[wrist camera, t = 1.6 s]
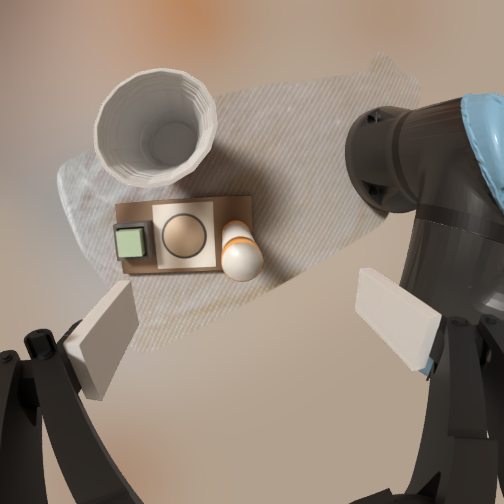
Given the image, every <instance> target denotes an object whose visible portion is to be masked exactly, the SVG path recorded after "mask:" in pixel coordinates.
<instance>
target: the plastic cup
mask: <svg viewBox="0 0 504 504" xmlns="http://www.w3.org/2000/svg"><path fill="white" fill-rule="evenodd" d="M217 127H218V123H217V114H216V105H215V102H214V100H213V98H212V97H211V95H210V94H209V92H208V90H207V89H206V87H205V85H204V84H203V83H202V82H200V81H198V80H197V79H196V78H194V77H192V76H191V75H189V74H188V73H186V72H185V71H179V70H174V69H167V68H157V69H152V70H147V71H142V72H138V73H136V74H134V75H133V76H131V77H129V78H128V79H126V80H125V81H123V82H121V83H120V84H118V85H117V86H116V87H115V88H114V89H113V91H112V92H111V93H110V94H109V95H108V97H107V98H106V99H105V100H104V102H103V103H102V104H101V107H100V110H99V112H98V115H97V118H96V122H95V125H94V143H95V144H94V145H95V151H96V153H97V155H98V157H99V159H100V161H101V163H102V165H103V167H104V169H105V170H106V171H107V172H108V173H110V174H111V175H112V176H114V177H115V178H116V179H118V180H119V181H120V182H122V183H123V184H127V185H132V186H136V187H141V188H145V189H148V188H153V187H159V186H164V185H170V184H173V183H174V182H176V181H178V180H179V179H181V178H183V177H184V176H186V175H188V174H189V173H191V172H193V171H194V170H195V169H196V168H197V166H198V165H199V164H200V163H201V161H202V160H203V159H204V157H205V156H206V155H207V154H208V152H209V151H210V150H211V147H212V143H213V140H214V137H215V134H216V130H217Z"/></svg>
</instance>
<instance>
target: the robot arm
mask: <svg viewBox="0 0 504 504" xmlns="http://www.w3.org/2000/svg"><path fill="white" fill-rule="evenodd" d="M345 160H346V167H347V171H348V174H349V177H350V179H351V182H352V184H353V186H354V187H355V189H356V190H357V192H358V193H359V195H360V196H361V197H362V198H363V199H364V200H365V201H366V202H367V203H369V204H370V205H372V206H373V207H375V208H377V209H380V210H383V211H387V212H391V213H406V212H410V211H413V210H416V215H415V220H414V225H413V230H412V236H411V241H410V245H409V249H408V253H407V258H406V262H405V266H404V270H403V274H402V277H401V281H400V285H399V286H398V285H397V284H395V283H394V282H392V281H391V280H389V279H388V278H386V277H385V276H383V275H381V274H380V273H378V272H377V271H375V270H374V269H372V268H360V272H359V282H358V290H357V298H356V306H355V311H356V312H357V313H358V314H359V315H360V316H361V317H362V318H363V319H364V320H365V321H366V322H367V323H368V324H369V325H370V327H371V328H372V329H373V330H374V331H375V332H376V333H377V334H378V335H379V336H380V337H381V338H382V339H383V340H384V341H385V342H386V343H387V344H388V346H390V348H391V349H392V350H393V351H394V352H395V353H396V354H397V355H398V356H399V357H400V358H401V359H402V361H403V362H404V363H405V364H406V365H407V366H408V367H409V368H410V369H411V370H412V371H413V372H414V371H420V372H421V373H423V374H424V375H426V376H428V377H427V379H426V380H427V381H428V380H429V378H430V386H429V395H428V403H427V410H426V416H425V422H424V428H423V433H422V438H421V443H420V448H419V452H418V456H417V460H416V464H415V468H414V472H413V475H412V478H411V481H410V484H409V486H408V488H407V490H406V491H405V493H404V494H397V495H396V494H395V495H392V493H391V491H390V489H389V488H388V489H385V490H383V491H381V492H378V493H375V494H373V495H370V496H367V497H364V498H361V499H359V500H356V501H353V502H351V503H350V504H495V498H496V489H497V475H498V479H499V484H500V488H501V491H502V494H503V497H504V96H502V95H500V94H496V93H487V94H467V95H465V96H463V97H461V98H456V99H452V100H448V101H444V102H440V103H437V104H433V105H429V106H426V107H422V108H419V109H416V110H409V109H404V108H399V107H393V106H383V107H378V108H375V109H372V110H370V111H368V112H366V113H364V114H362V115H361V116H360V117H359V118H358V119H357V120H356V121H355V122H354V123H353V125H352V127H351V128H350V130H349V133H348V136H347V140H346V145H345ZM426 220H428V221H426ZM430 221H432V222H430ZM434 222H435V223H434ZM438 223H439V224H438ZM441 224H443V225H441ZM445 225H446V226H445ZM449 226H450V227H449ZM452 227H453V228H452ZM456 228H457V229H456ZM459 229H460V230H459ZM462 230H463V231H462ZM466 231H467V232H466ZM469 232H470V233H469ZM472 233H473V234H472ZM138 325H139V321H138V317H137V312H136V307H135V302H134V296H133V291H132V285H131V281H118V282H117V283H116V284H115V285H114V286H113V287H112V288H111V289H110V291H109V292H108V293H107V294H106V295H105V296H104V297H103V298H102V299H101V300H100V301H99V302H98V304H97V305H96V306H95V307H94V308H93V309H92V310H91V311H90V312H89V314H88V315H87V316H86V317H85V318H84V319H83V320H80V321H78V322H76V323H75V324H73V325H72V326H71V327H70V329H69V330H68V331H67V332H66V333H65V334H64V336H63V337H62V338H61V339H60V340H59V341H58V342H57V344H56V342H55V340H54V337H53V334H52V332H51V331H50V330H48V329H38V330H35V331H32V332H31V333H29V334H28V335H27V336H26V337H25V338H24V343H25V346H26V348H27V350H28V353H29V355H30V358H31V360H20V358H19V355H18V353H17V352H16V351H14V350H8V351H3V352H1V353H0V504H48V500H47V495H46V487H45V479H44V469H43V454H42V415H43V419H44V422H45V426H46V429H47V433H48V436H49V439H50V442H51V445H52V448H53V451H54V453H55V456H56V459H57V461H58V464H59V466H60V469H61V471H62V474H63V476H64V478H65V481H66V483H67V485H68V487H69V489H70V491H71V493H72V496H73V498H74V499H75V502H76V503H77V504H144V503H143V502H142V500H141V499H140V498H139V497H138V495H137V494H136V493H135V492H134V490H133V489H132V487H131V486H130V485H129V483H128V482H127V481H126V479H125V478H124V476H123V475H122V473H121V472H120V471H119V469H118V467H117V466H116V464H115V463H114V461H113V459H112V458H111V456H110V455H109V453H108V451H107V450H106V448H105V446H104V445H103V443H102V441H101V439H100V437H99V436H98V434H97V432H96V430H95V428H94V426H93V425H92V422H91V420H90V418H89V416H88V415H87V412H86V410H85V408H84V407H83V404H82V402H81V400H80V398H79V396H78V393H79V392H80V390H81V388H82V391H83V393H84V395H85V397H86V399H92V400H98V401H102V399H103V397H104V395H105V393H106V391H107V388H108V386H109V384H110V382H111V380H112V377H113V376H114V373H115V371H116V369H117V367H118V365H119V363H120V361H121V359H122V357H123V355H124V353H125V350H126V349H127V347H128V345H129V343H130V341H131V339H132V337H133V335H134V333H135V331H136V329H137V327H138ZM487 431H488V435H489V438H487Z"/></svg>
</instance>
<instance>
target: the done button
mask: <svg viewBox="0 0 504 504" xmlns="http://www.w3.org/2000/svg"><path fill="white" fill-rule="evenodd" d="M116 238H117V247H118V254H119V257H137V256H143V255H144V254H145V253H146V243H145V232H144V228H130V229H121V230H119V231H117V232H116Z"/></svg>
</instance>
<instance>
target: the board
mask: <svg viewBox="0 0 504 504" xmlns="http://www.w3.org/2000/svg"><path fill="white" fill-rule="evenodd" d="M115 206H116V218H117V224H115V225H113V229H114V238H115V246H116V254H117V261H122V268H123V274H128V273H158V272H185V271H209V270H223V269H222V264H221V256H222V231H223V228H224V226H225V225H226V224H227V223H228V222H230V221H233V220H239V221H242V222H244V223H245V224H246V225H247V226H248V228H249V230H250V233H251V235H252V196H251V195H248V196H220V197H200V198H183V199H168V200H155V201H143V202H132V203H122V204H116V205H115ZM130 228H144V232H145V243H146V253H145V254H144V255H143V256H137V257H119V254H118V247H117V238H116V232H117V231H119V230H121V229H130Z"/></svg>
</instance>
